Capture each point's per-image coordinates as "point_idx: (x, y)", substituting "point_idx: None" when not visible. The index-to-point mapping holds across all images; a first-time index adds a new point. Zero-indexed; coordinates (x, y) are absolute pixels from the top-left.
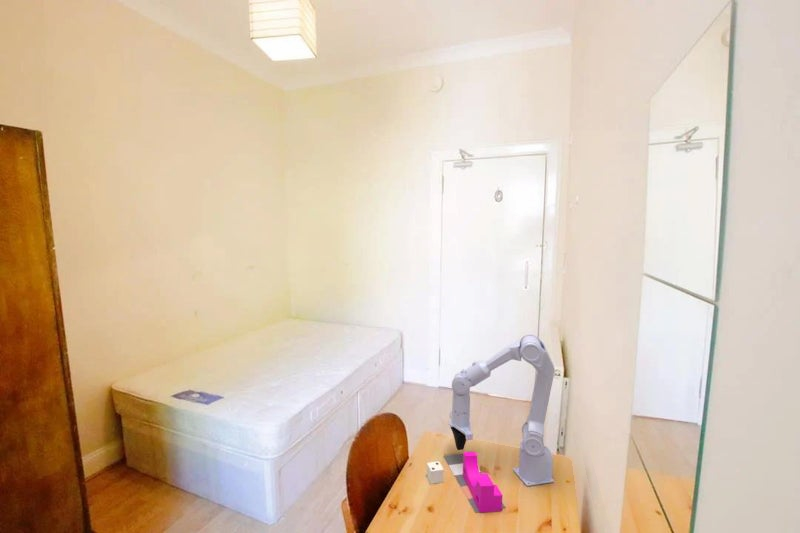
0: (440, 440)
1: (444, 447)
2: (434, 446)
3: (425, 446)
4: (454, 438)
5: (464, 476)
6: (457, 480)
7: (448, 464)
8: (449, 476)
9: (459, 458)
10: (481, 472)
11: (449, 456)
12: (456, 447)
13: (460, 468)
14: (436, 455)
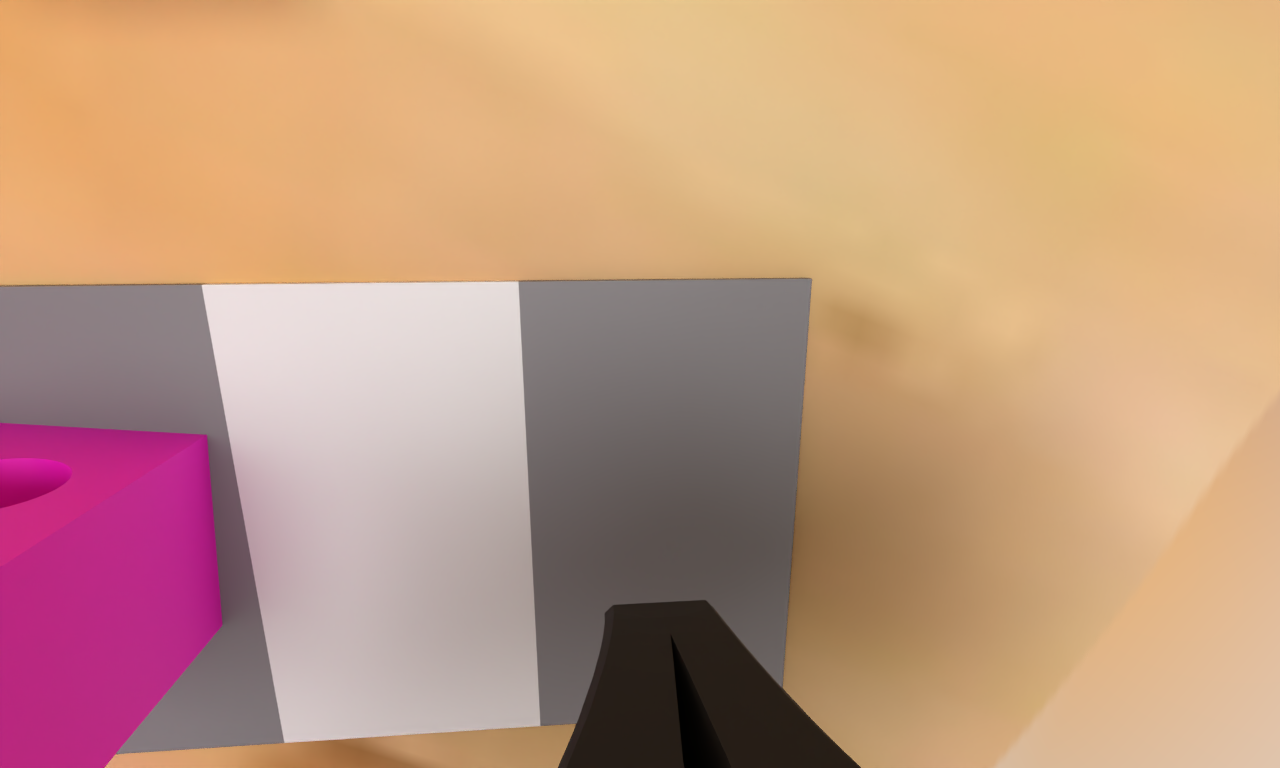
0: (1251, 385)
1: (1040, 387)
2: (1139, 206)
3: (1215, 7)
4: (841, 756)
5: (51, 446)
6: (47, 287)
7: (537, 283)
8: (191, 175)
9: (669, 536)
10: (265, 742)
11: (765, 386)
12: (686, 610)
13: (397, 461)
14: (869, 144)
